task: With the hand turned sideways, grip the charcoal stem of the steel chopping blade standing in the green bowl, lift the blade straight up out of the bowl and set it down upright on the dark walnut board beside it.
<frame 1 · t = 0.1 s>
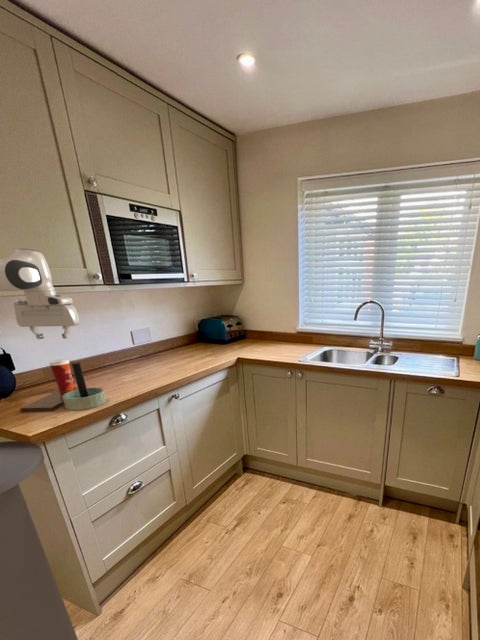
hand: (53, 338, 122), 28 cm above the countertop, tool pointing down, fingers open, 8 cm apart
cutting board: (54, 402, 139), on the countertop
paper cup: (67, 390, 155), on the countertop
green bowl: (86, 404, 137), on the countertop
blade: (86, 403, 136), resting on green bowl
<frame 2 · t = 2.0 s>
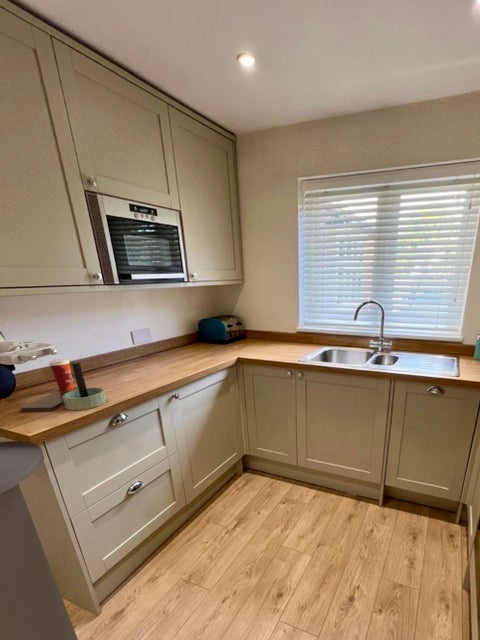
hand: (45, 354, 131), 20 cm above the countertop, tool horizontal, fingers open, 8 cm apart
nothing on the countertop moved.
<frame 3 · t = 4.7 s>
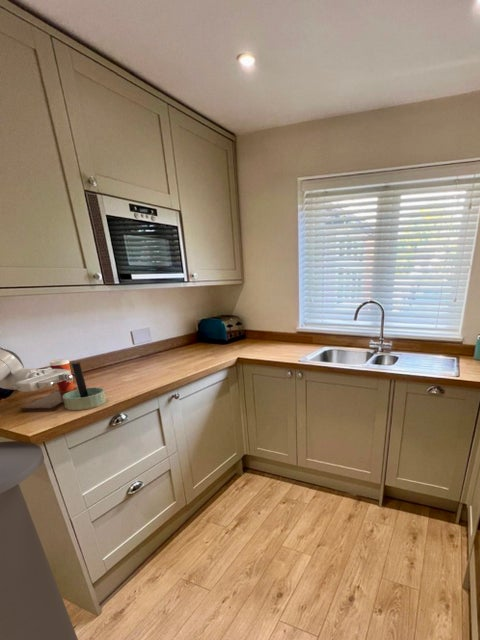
hand: (62, 380, 134), 10 cm above the countertop, tool horizontal, fingers open, 8 cm apart
nothing on the countertop moved.
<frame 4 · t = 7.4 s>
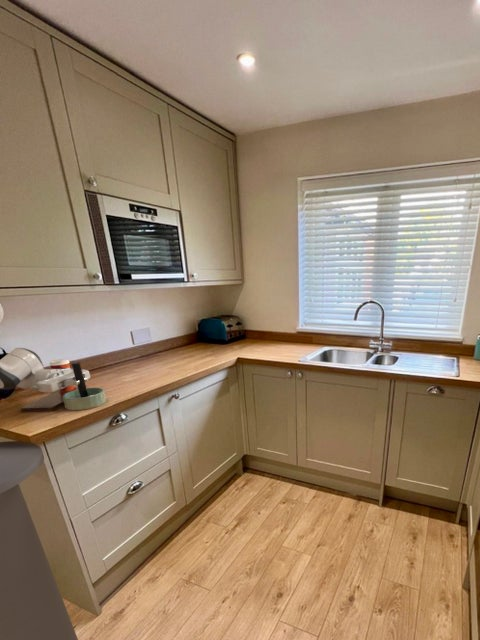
hand: (82, 381, 133), 10 cm above the countertop, tool horizontal, fingers closed on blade, 3 cm apart
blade: (86, 403, 136), point 1 cm above the countertop, touching gripper, green bowl
everything else where it was.
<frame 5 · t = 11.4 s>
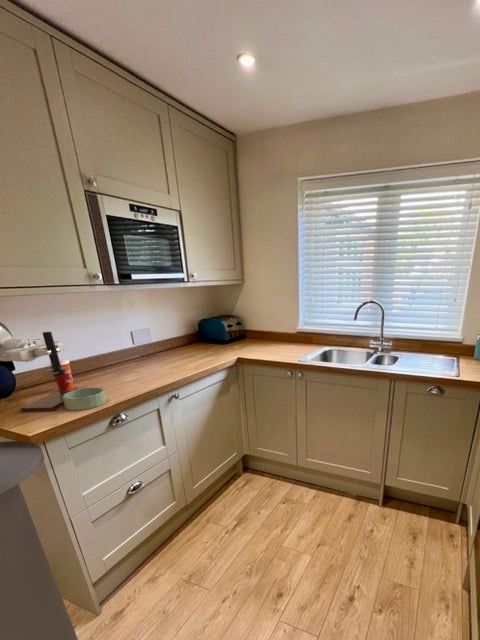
hand: (54, 351, 130), 22 cm above the countertop, tool horizontal, fingers closed on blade, 3 cm apart
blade: (58, 374, 133), point 13 cm above the countertop, touching gripper
everything else where it was.
when the fingers open (11 cm above the countertop, at t = 15.6 s): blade stays where it is, resting on cutting board.
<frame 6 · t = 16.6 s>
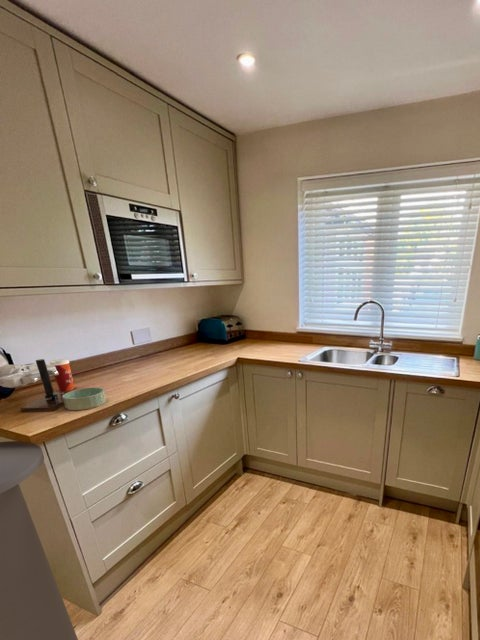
hand: (46, 376, 134), 12 cm above the countertop, tool horizontal, fingers open, 8 cm apart
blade: (52, 399, 138), point 1 cm above the countertop, touching cutting board
everything else where it was.
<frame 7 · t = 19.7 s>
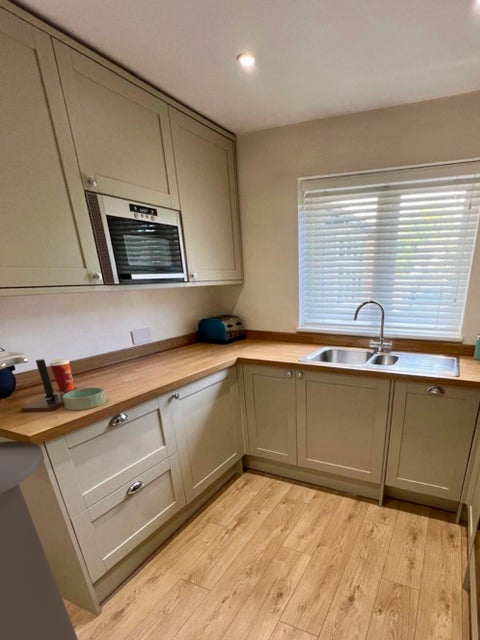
hand: (15, 363, 134), 17 cm above the countertop, tool horizontal, fingers open, 8 cm apart
nothing on the countertop moved.
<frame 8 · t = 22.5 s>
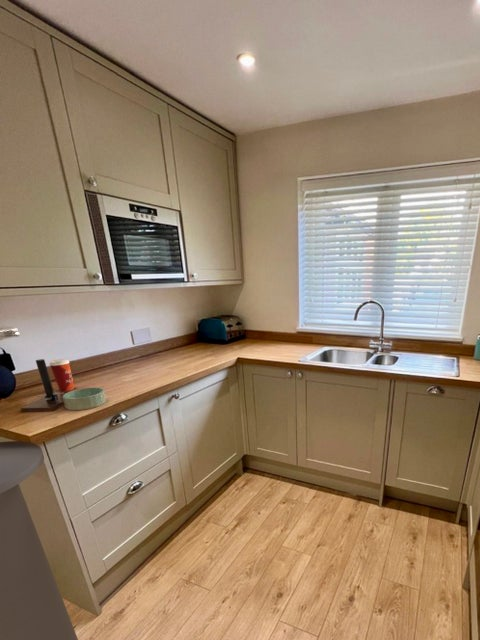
hand: (6, 335, 130), 28 cm above the countertop, tool horizontal, fingers open, 8 cm apart
nothing on the countertop moved.
at the end: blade inside the target area on the cutting board (1.0 cm from its centre), point 1.5 cm above the cutting board's base; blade tilted 0°; the gripper is holding nothing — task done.
